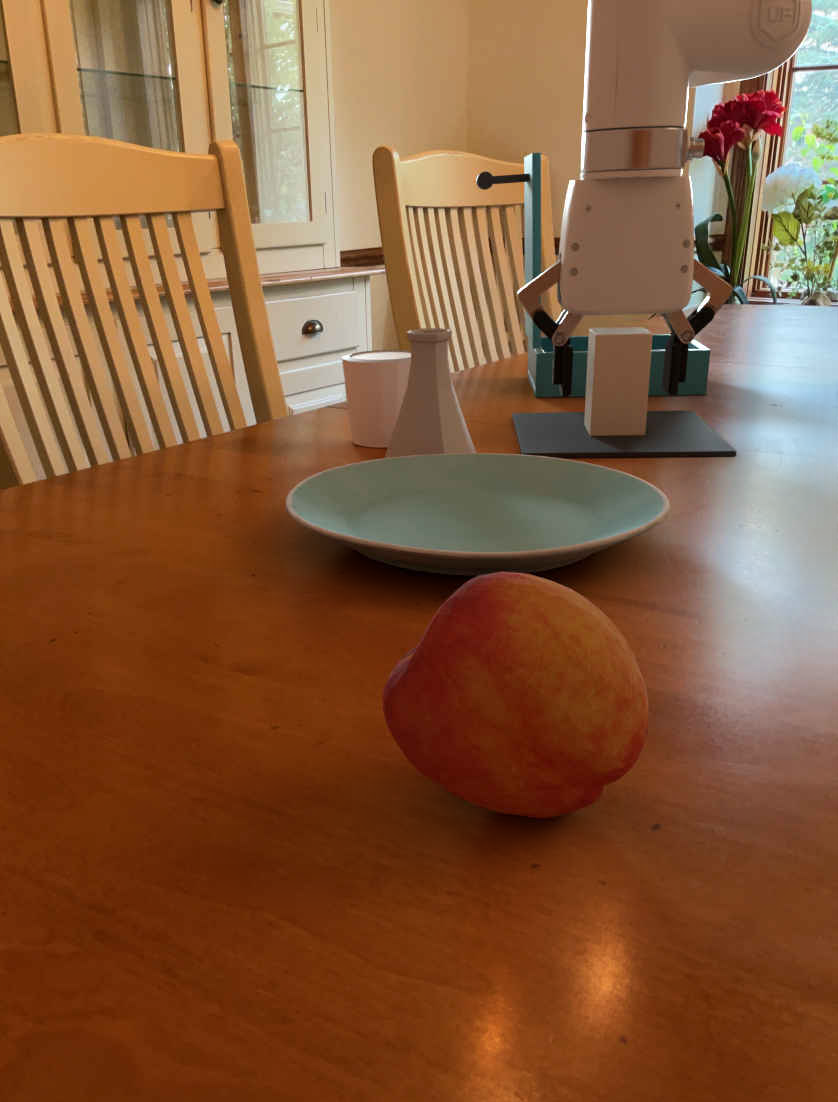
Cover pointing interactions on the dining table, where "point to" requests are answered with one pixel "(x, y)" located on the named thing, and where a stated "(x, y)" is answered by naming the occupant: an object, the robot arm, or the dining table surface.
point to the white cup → (375, 393)
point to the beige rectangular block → (617, 381)
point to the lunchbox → (543, 360)
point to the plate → (476, 510)
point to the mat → (618, 437)
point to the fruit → (519, 698)
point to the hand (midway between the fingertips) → (617, 391)
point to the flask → (429, 402)
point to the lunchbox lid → (526, 224)
